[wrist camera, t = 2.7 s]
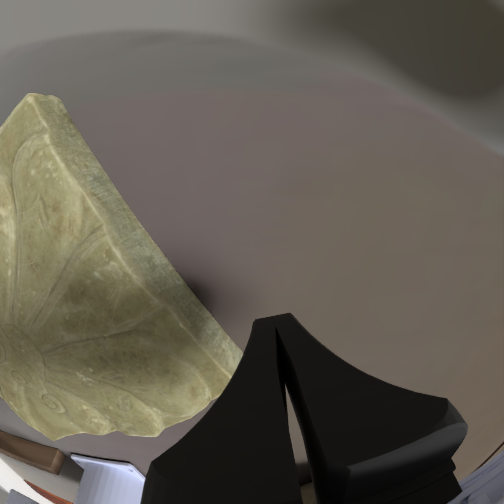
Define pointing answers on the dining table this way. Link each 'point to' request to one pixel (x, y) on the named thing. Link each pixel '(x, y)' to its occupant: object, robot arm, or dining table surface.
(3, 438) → the frame
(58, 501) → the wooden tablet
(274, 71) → the dining table surface
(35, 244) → the decorative tile
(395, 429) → the robot arm
